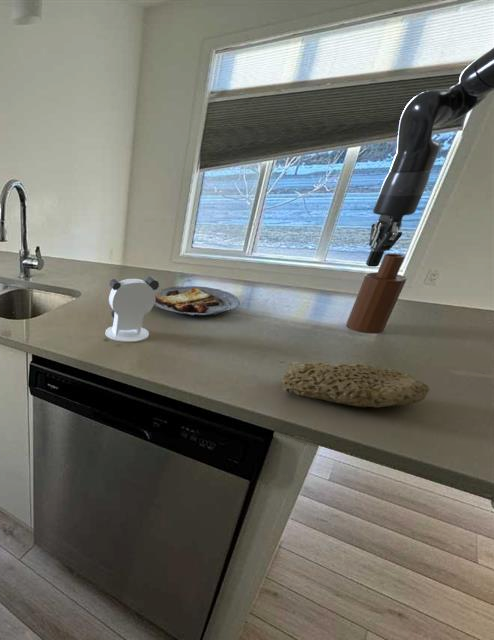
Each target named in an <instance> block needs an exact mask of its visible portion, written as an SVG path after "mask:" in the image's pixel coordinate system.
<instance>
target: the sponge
mask: <svg viewBox="0 0 494 640" xmlns="http://www.w3.org/2000/svg"><path fill="white" fill-rule="evenodd" d="M281 382H282V389H283V390H284V391H285V392H288V393H289V394H292V395H293V394H294V395H297V396H301V397H306V398H309V399H317V400H323V401H326V402H331V403H337V404H341V405H347V406H352V407H360V408H368V407H371V408H383V407H392V406H393V407H394V406H407V405H412V404H415V403H419V402H421V401H423V400H424V399H425V398H426V397H427V395H428V393H429V392H430V386H429V385H427V384H425V383H424V382H422V381H421V380H419V379H417V378H416V377H415V376H413V375H411V374H408V373H405V372H401V371H398V370H393V369H391V368H385V367H381V366H380V367H379V366H375V365H370V364H362V363H357V362H356V363H355V362H353V363H341V364H340V363H339V364H335V365H331V364H327V363H326V362H297V361H292V362H291V363H290V367H289V370H286V371H284V373H283V378H282V381H281Z"/></svg>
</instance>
